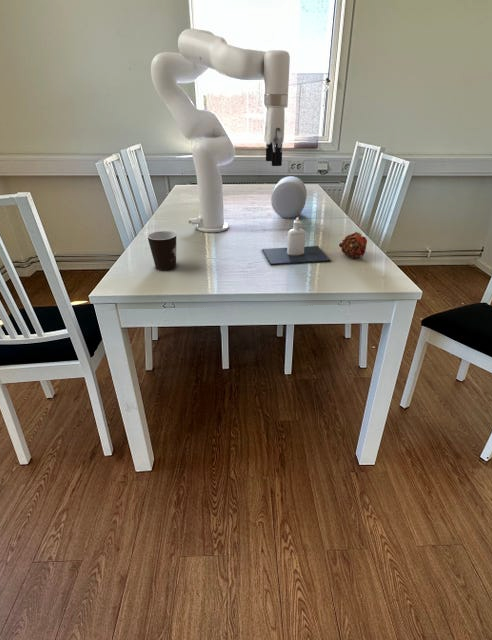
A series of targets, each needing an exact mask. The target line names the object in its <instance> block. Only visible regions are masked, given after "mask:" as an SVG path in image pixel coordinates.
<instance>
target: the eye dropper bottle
mask: <svg viewBox="0 0 492 640" xmlns="http://www.w3.org/2000/svg"><path fill="white" fill-rule="evenodd" d="M295 218H296V219H295V220H294V221H293V223H292V224H293V226H292V229H290V230H289V231H288V232H287V243H286V248H287V254H288V255H290V256H298V255H302V254H304V247H305V244H306V243H305V242H306V231H305V230H304V229H302V221H301V220H300V217H299V216H298V217H297V216H296V217H295Z"/></svg>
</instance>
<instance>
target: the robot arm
mask: <svg viewBox="0 0 492 640" xmlns="http://www.w3.org/2000/svg"><path fill="white" fill-rule="evenodd" d="M177 47H178V51H179V52H173V51H172V52H171V51H164V52H160V53H157V54H156V55H155V56H154V57H153V58H152V60H151V64H150V76H151V81H152V84H153V87H154V90H155V92H156V93H157V95H158V96H159V98H160V99H161V100H162V102H163V104H164V105H165V106H166V108H167V109H168V111H169V113H170V114H171V116H172V118H173V120H174V121H175V123H176V125H177V126H178V128H179V130H180V132H181V133H182V135H183V136H184V138H185V139H186V140H188V141H192V142H193V141H195V143H194V145H193V146H192V149H191V150H192V152H191V155H192V160H193V164H194V169H195V176H196V184H197V186H196V188H197V196H198V197H197V198H198V212H199V213H198V216H196V217H194V218H193V217H189V218H188V219H187V220H188V224H191V225H196V230H197V231H199V232H203V233H221V232H224V231H226V230H228V229H229V224H228V223H227V222H225V216H224V215H225V214H224V212H225V211H224V190H223V189H224V188H223V187H224V186H223V185H224V184H223V178H222V177H223V176H222V174H221V171H220V169H219V167H221V166H226V165H229V164H231V163H232V162H233V161H234V159H235V156H236V149H235V145H234V142H233V140H232V139H231V137H230V135H229V133H228V132H227V130H226V127H225V126H224V124H223V123H222V120H221V119H220V117H219V116H218V115H217V114H216V113H215V112H213V111H212V110H211V109H199V108H197V107H196V106H195V105H194V103H193V102H192V100H191V98H190V96H189V95H188V93H187V92H186V91H185V90H184V89H183V88H182V87H181V86H180V85H179V84H191V83H193V82H196V81H197V80H198V79H199V78H200V77H201V76H202V75H203V74H205V72H206V71H207V70H208V69H211V70H214V71H216V72H217V73H219V74H221V75H223V76H225V77H228V78H231V79H234V80H237V81H241V82H263V91H262V92H263V94H262V95H263V97H262V107H263V108H265V110H264V120H263V123H264V124H263V139H262V140H263V142H264V143H265V146H266V147H265V162H271V166H272V167H281V166H282V165H283V143H284V141H285V140H284V139H285V117H286V116H285V115H286V114H285V108H288V104H289V83H290V82H289V81H290V80H289V79H290V64H291V57H290V53H289V52H288V51H287V50H280V49H273V50H272V49H271V50H267V51H263V50H258V49H250V48H249V49H248V48H242V47H239V46H238V47H237V46H234V45H232V44H228V42H227V40H226V39H225V38H224V37H223V36H218V35H215V34H214V33H213V32H211V31H209V30H204V29H197V28H186V29H184V30H183V31H181V33H180V34H179V36H178V39H177Z"/></svg>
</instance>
